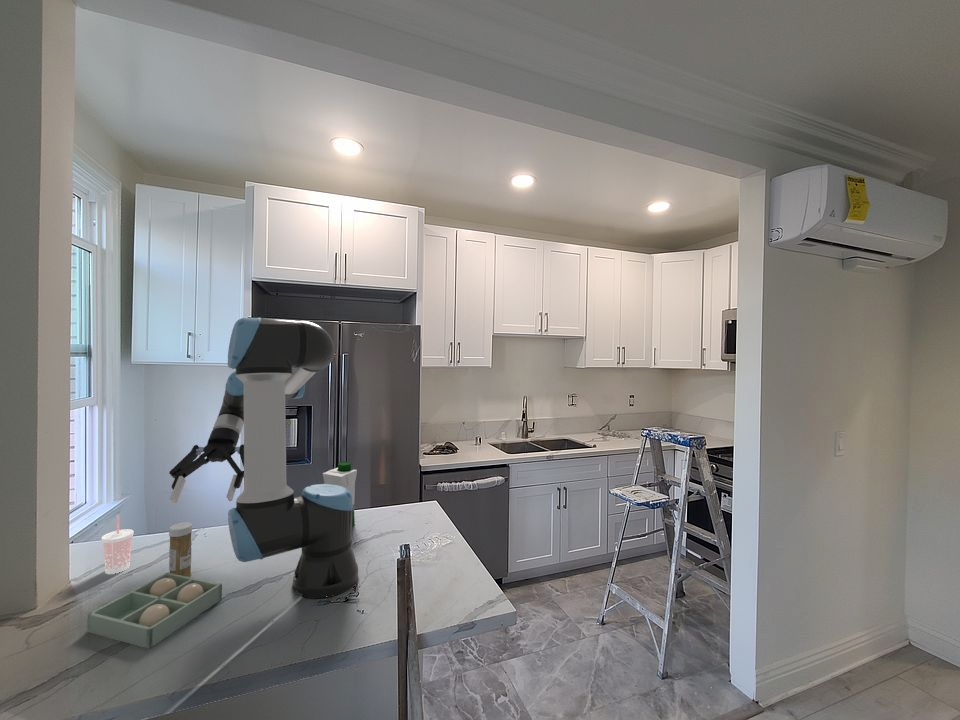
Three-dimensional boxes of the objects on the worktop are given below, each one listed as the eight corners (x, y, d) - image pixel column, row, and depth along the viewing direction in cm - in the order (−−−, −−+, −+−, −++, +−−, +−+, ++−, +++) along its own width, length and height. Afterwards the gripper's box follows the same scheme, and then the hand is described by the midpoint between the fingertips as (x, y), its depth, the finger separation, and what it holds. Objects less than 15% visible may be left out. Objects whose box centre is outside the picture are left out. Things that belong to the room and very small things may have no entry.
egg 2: (175, 624, 83) (175, 601, 83) (151, 640, 78) (151, 615, 78) (157, 619, 84) (157, 596, 84) (132, 635, 79) (132, 611, 79)
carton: (221, 601, 91) (221, 583, 91) (148, 651, 76) (149, 629, 76) (166, 589, 95) (167, 572, 95) (87, 634, 80) (87, 614, 80)
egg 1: (181, 596, 92) (182, 575, 92) (160, 609, 87) (160, 587, 87) (165, 592, 93) (165, 571, 93) (143, 605, 89) (143, 583, 88)
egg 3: (208, 602, 90) (209, 580, 90) (188, 615, 86) (188, 593, 85) (191, 598, 91) (192, 577, 91) (170, 611, 87) (171, 589, 87)
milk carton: (358, 523, 134) (360, 463, 134) (339, 534, 126) (341, 470, 125) (337, 518, 138) (339, 460, 137) (317, 529, 129) (319, 466, 129)
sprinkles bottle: (191, 581, 99) (191, 526, 99) (167, 587, 96) (168, 530, 96) (191, 572, 103) (192, 520, 102) (169, 577, 100) (169, 523, 100)
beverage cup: (138, 561, 107) (138, 509, 107) (125, 574, 101) (126, 518, 101) (109, 564, 105) (110, 511, 105) (95, 577, 99) (95, 520, 99)
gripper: (272, 439, 129) (255, 504, 115) (184, 440, 124) (154, 507, 110) (267, 425, 124) (248, 492, 109) (175, 426, 119) (142, 495, 104)
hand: (201, 500), depth 109 cm, fingers open, 13 cm apart
